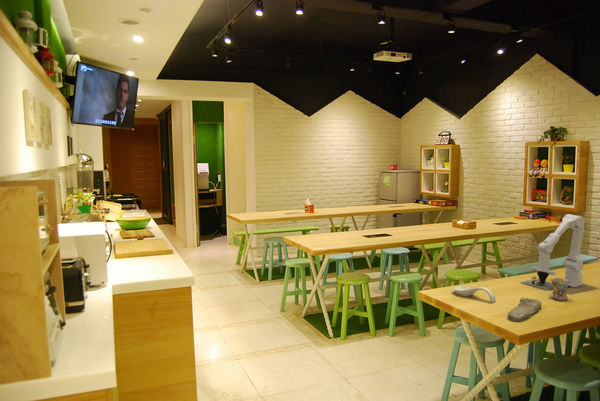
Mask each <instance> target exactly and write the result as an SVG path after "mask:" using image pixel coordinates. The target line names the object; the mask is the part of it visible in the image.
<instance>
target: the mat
mask: <svg viewBox="0 0 600 401" xmlns="http://www.w3.org/2000/svg"><path fill="white" fill-rule="evenodd" d="M530 280H531V279H528V280H524V281H520V284H522V285H525V286H529V287H532V288H536V289H538V290H543V291H549V290H550V291H551V290H553V284H552V282H549V281H546V283H544V284H539V285H535V284H530V283H529V281H530Z"/></svg>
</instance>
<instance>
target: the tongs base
mask: <svg viewBox="0 0 600 401" xmlns="http://www.w3.org/2000/svg"><path fill="white" fill-rule="evenodd" d="M529 280H530V281H529V283H530V284H534V281H538V280H539V277H538V278H536V279H533V280H532V279H529Z"/></svg>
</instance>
